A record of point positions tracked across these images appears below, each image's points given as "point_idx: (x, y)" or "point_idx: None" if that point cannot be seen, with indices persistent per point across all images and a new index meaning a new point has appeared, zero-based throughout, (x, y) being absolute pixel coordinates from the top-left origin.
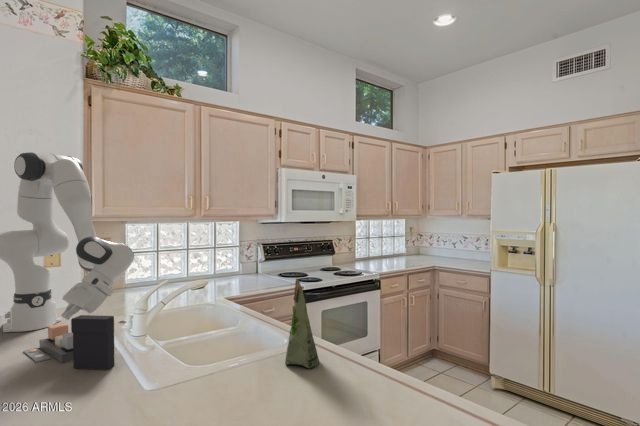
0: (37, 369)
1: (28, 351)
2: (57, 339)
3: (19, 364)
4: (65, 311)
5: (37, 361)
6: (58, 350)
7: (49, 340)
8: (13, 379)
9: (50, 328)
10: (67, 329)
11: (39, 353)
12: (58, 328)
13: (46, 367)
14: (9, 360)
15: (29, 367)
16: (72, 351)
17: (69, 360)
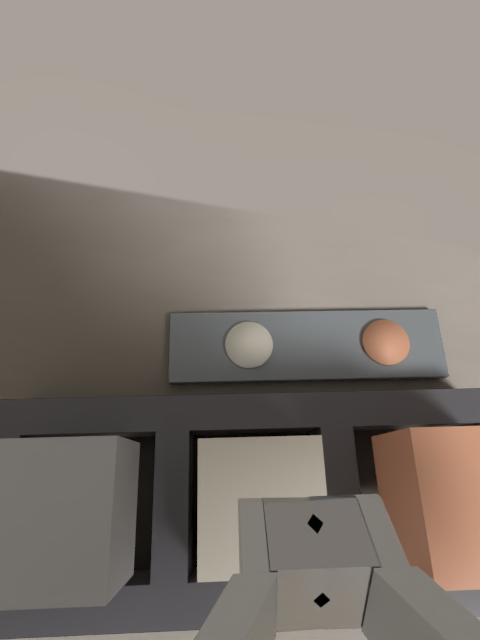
0: (55, 294)
1: (389, 322)
2: (254, 437)
3: (220, 256)
4: (368, 564)
5: (171, 319)
6: (122, 411)
7: None
8: (23, 198)
9: (460, 426)
10: None
11: (306, 358)
12: (415, 485)
13: (41, 331)
14: (331, 238)
15: (125, 276)
16: None
17: None
